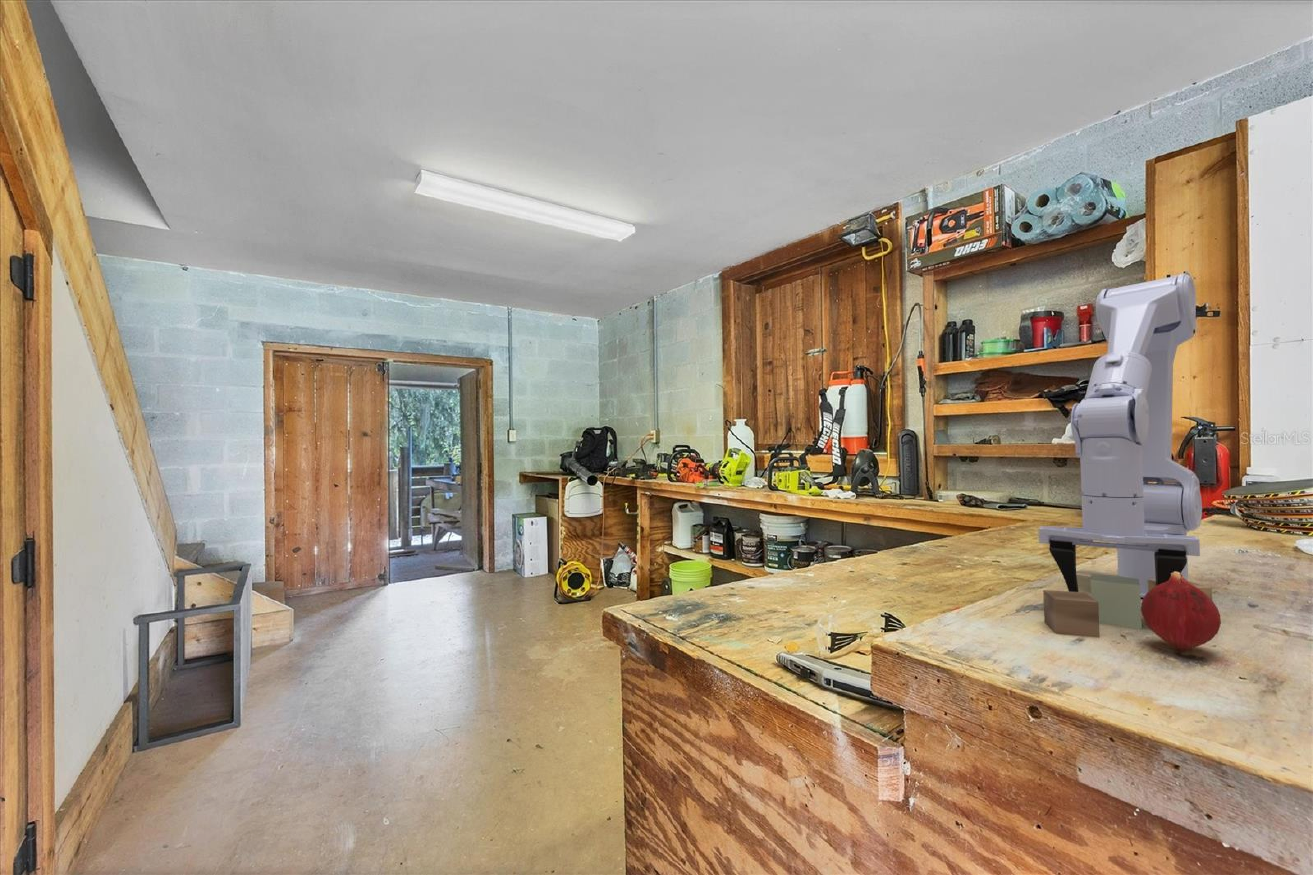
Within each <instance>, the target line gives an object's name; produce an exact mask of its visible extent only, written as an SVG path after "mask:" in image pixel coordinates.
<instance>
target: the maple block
mask: <svg viewBox="0 0 1313 875" xmlns="http://www.w3.org/2000/svg"><path fill="white" fill-rule="evenodd" d="M1092 573H1093V574H1103V575H1112V576H1119V575H1118V573H1111V572H1105V571H1103V572H1102V571H1096V570H1089V569H1085V568H1081V569H1079V570H1076V576H1077V583H1078V591H1079V592H1084V593H1085V594H1087V595H1088V596H1090V597H1091V574H1092Z"/></svg>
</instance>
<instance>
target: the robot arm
mask: <svg viewBox="0 0 1313 875" xmlns="http://www.w3.org/2000/svg"><path fill="white" fill-rule="evenodd" d="M1196 297H1197V296H1196V287H1195V283H1194V279H1193V278H1192V276H1190V275H1188V274H1187V273H1180V274H1178V275H1175V276H1169V277H1166V278H1160V279H1155V280H1154V279H1153V280H1150V281H1144V282H1140V283H1134V284H1129V285H1124V286H1119V287H1115V288H1104V289H1102V290H1101V291H1100V293H1099V294H1098V295H1097V296H1096V300H1095V315H1096V316H1095V317H1096V320H1097V323H1098V326H1099V327H1100V329H1101V331H1102V333H1103V336H1104V338H1105V340H1106V341H1107V342H1108V343H1107V353H1106V354H1104V355H1102V356H1101V357H1098V358H1097V359H1096V360H1095V363H1094V364H1093V368H1092V370H1091V375H1090V379H1089V381H1088V385H1087V389H1086V393H1085V396H1084V398H1083V399H1081V401H1080V403H1078V402H1075V404H1073V405H1072V409H1071V413H1070V426H1071V428H1070V429H1071V433H1072V437H1073V440H1074V447H1075V448H1074V450H1075V454H1076V455H1075V456H1076V457H1077V458H1080V459H1079V461H1080V487H1081V489H1080V490H1081V516H1082V518H1081V519H1082V527H1071V526H1070V527H1069V526H1067V527H1066V526H1045V525H1044V526H1043V525H1041V526H1039V527H1038V543H1040V544H1047V545H1048V544H1049V548H1048V549H1049V553H1050V555H1051V556H1052V558H1053V560H1054V562H1055V563H1056V565H1057V567H1058V569H1059V571H1060V573H1061V575H1062V577H1063V579H1064V582H1065V584H1066V589H1067V591H1069V592H1079V591H1078V583H1077V576H1076V571H1077V546H1082V547H1083V546H1084V547H1085V546H1086V547H1094V548H1095V547H1096V548H1105V549H1107V548H1108V549H1109V548H1110V549H1116V552H1117V553H1116V554H1117V555H1116V557H1117V574H1118V575H1119V576H1121V577H1130V578H1139V583H1140V597H1141V598H1144V596H1145V595H1146V594H1147V593H1148V579H1156V586H1157V585H1159V584H1162V583H1164V582H1166V581H1168V580H1169V579H1170V577H1171V573H1173V572H1174V571H1176V572H1179V573H1181V574H1182V575H1183V577H1184V578H1185V579H1186V580H1187V581H1189V564H1188V562H1189V561H1188V556H1192V557H1194V556H1195V557H1200V556H1201V549H1200V548H1201V546H1200V545H1201V544H1200V539H1199V537H1198V536H1194V535H1193V536H1192V535H1187V533H1189V532H1190V531H1191V532H1193V531H1195V530H1196V529H1197V528H1198V527H1200V525H1201V522H1202V517H1203V502H1202V493H1201V491H1200V490H1201V489H1200V488H1201V486H1200V480H1199V478H1198V477H1197V475H1196V473H1195V471H1193V470H1191V469H1189V468H1187V467H1185V466H1183V465H1181V464H1180V463H1177V462H1176V461H1175V460H1173V459H1172V450H1173V449H1172V448H1173V447H1172V446H1173V444H1172V442H1173V396H1174V394H1173V392H1174V391H1173V390H1174V389H1173V386H1174V384H1173V383H1174V380H1173V379H1174V360H1175V358H1176V354H1177V350H1178V347H1179V345H1182V344H1184V343H1186V342H1187V341H1189V340H1191V339H1192V338H1194V331H1195V329H1196V321H1197V320H1196V315H1197V314H1196V313H1197V312H1196V308H1197V304H1196V303H1197V302H1196V301H1197V298H1196Z"/></svg>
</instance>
